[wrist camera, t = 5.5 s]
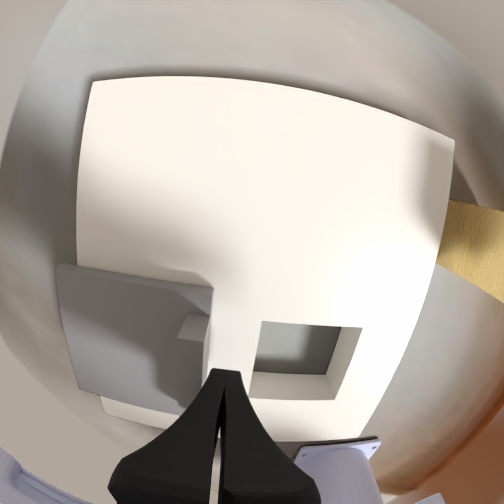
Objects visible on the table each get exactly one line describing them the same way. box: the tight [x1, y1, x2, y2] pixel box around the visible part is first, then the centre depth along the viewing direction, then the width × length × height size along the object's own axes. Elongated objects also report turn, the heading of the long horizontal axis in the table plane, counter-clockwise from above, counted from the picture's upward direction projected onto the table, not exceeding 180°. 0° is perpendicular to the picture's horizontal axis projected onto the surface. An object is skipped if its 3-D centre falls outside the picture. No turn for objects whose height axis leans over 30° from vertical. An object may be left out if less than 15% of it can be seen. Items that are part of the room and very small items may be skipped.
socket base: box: [76, 76, 455, 442], centre depth 14 cm, size 20×18×2 cm
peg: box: [435, 200, 504, 303], centre depth 10 cm, size 4×4×8 cm
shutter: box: [55, 263, 214, 417], centre depth 11 cm, size 8×8×3 cm
